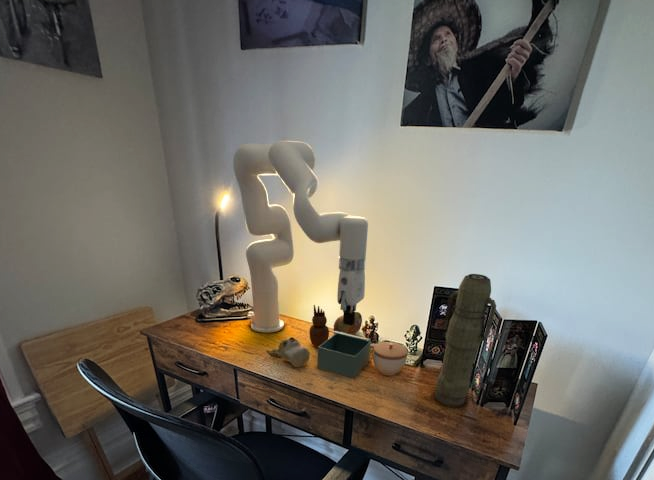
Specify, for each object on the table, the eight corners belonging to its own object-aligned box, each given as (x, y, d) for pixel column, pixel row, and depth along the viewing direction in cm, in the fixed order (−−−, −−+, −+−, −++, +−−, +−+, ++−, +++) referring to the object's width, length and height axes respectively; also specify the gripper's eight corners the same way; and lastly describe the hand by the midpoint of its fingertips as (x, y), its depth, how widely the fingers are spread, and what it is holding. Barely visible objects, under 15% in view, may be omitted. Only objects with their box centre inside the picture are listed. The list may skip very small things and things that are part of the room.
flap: (328, 331, 121) (328, 330, 121) (336, 331, 126) (336, 331, 126) (364, 340, 116) (364, 339, 116) (370, 340, 122) (371, 339, 122)
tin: (338, 342, 137) (339, 320, 133) (331, 340, 139) (332, 318, 134) (362, 330, 148) (363, 310, 143) (355, 328, 149) (356, 308, 145)
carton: (317, 367, 121) (317, 347, 117) (335, 352, 130) (336, 333, 127) (353, 377, 116) (355, 356, 112) (369, 361, 126) (371, 341, 122)
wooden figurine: (307, 347, 133) (307, 306, 125) (311, 340, 138) (311, 300, 130) (326, 349, 132) (327, 308, 124) (330, 342, 137) (331, 302, 129)
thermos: (435, 384, 115) (459, 268, 97) (474, 397, 110) (506, 277, 92) (424, 397, 108) (447, 275, 90) (464, 412, 103) (498, 285, 85)
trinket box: (386, 359, 128) (389, 334, 123) (411, 371, 121) (415, 345, 116) (364, 369, 121) (366, 342, 116) (390, 383, 115) (393, 355, 110)
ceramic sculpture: (291, 348, 111) (262, 334, 121) (292, 374, 116) (265, 359, 125) (318, 339, 118) (289, 327, 127) (319, 364, 122) (291, 350, 132)
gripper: (353, 271, 101) (349, 334, 110) (374, 260, 112) (369, 318, 122) (328, 267, 103) (326, 329, 113) (351, 256, 115) (348, 314, 125)
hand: (348, 323), depth 117 cm, fingers closed
